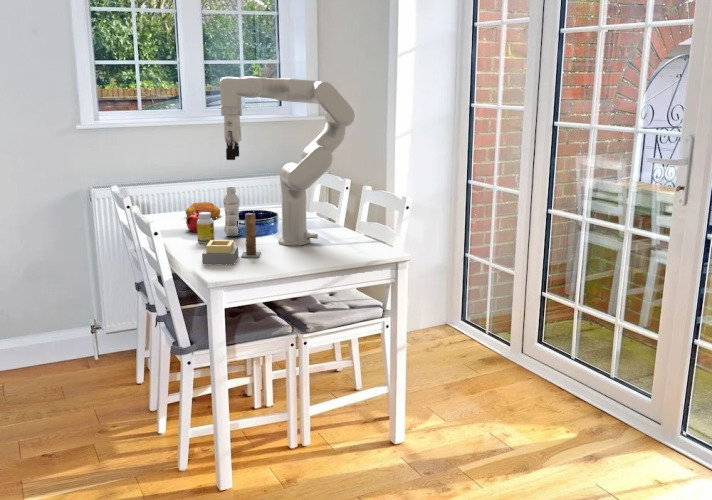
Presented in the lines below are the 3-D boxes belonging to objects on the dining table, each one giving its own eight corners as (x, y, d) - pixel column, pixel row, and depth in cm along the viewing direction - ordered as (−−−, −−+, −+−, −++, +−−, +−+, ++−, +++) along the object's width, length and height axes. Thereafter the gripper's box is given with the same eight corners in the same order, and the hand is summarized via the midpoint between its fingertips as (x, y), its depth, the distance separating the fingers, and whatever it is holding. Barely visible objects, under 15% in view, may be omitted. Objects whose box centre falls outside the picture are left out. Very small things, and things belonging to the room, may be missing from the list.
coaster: (261, 253, 264) (261, 251, 264) (259, 258, 258) (259, 256, 258) (243, 253, 264) (243, 251, 264) (241, 257, 258) (241, 256, 258)
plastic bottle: (233, 238, 286) (232, 189, 281) (221, 236, 289) (219, 188, 284) (244, 235, 291) (242, 187, 286) (231, 233, 295) (230, 185, 290)
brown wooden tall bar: (256, 252, 263) (255, 213, 259) (255, 255, 259) (254, 215, 255) (246, 252, 263) (245, 213, 259) (245, 255, 259) (244, 215, 255)
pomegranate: (212, 228, 305) (211, 207, 302) (208, 233, 295) (207, 211, 293) (188, 227, 304) (188, 206, 302) (184, 232, 295) (183, 210, 292)
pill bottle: (210, 244, 277) (209, 215, 274) (195, 243, 278) (193, 214, 275) (217, 240, 283) (215, 211, 280) (201, 239, 284) (200, 211, 281)
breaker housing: (238, 256, 259) (237, 239, 258) (233, 264, 249) (233, 246, 247) (208, 256, 259) (207, 239, 258) (202, 264, 249) (201, 246, 247)
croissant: (187, 219, 331) (184, 202, 329) (220, 213, 334) (217, 197, 332) (187, 225, 317) (183, 208, 315) (221, 219, 320) (218, 202, 318)
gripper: (238, 113, 252) (239, 161, 256) (244, 110, 268) (246, 155, 273) (217, 113, 251) (218, 161, 256) (225, 110, 268) (226, 155, 272)
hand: (232, 158), depth 264 cm, fingers open, 9 cm apart
